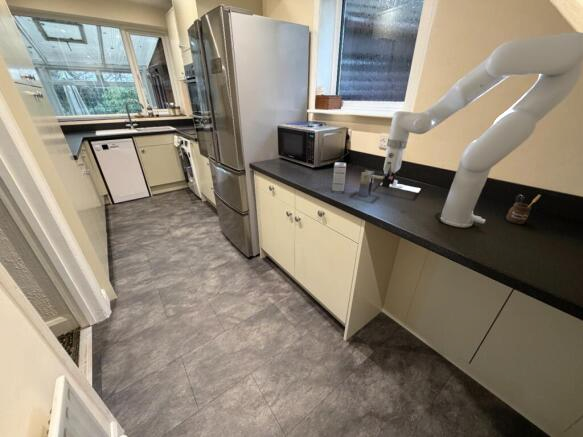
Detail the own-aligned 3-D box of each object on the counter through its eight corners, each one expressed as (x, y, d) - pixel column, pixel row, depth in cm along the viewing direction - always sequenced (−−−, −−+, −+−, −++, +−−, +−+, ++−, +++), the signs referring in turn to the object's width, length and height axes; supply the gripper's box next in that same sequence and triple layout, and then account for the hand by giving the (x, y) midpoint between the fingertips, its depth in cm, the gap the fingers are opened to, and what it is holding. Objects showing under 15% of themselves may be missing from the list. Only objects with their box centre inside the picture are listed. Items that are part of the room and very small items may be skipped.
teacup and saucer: (404, 187, 127) (405, 180, 125) (400, 191, 121) (402, 184, 119) (387, 184, 132) (389, 177, 130) (383, 188, 126) (385, 181, 124)
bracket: (378, 197, 115) (383, 172, 109) (371, 203, 109) (376, 176, 103) (357, 192, 121) (361, 167, 115) (349, 197, 114) (353, 172, 108)
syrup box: (343, 193, 118) (346, 165, 112) (331, 192, 119) (334, 164, 113) (343, 189, 123) (346, 162, 117) (332, 188, 124) (334, 161, 118)
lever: (392, 180, 106) (393, 175, 105) (389, 183, 102) (390, 177, 101) (366, 176, 113) (367, 171, 112) (362, 179, 109) (363, 174, 108)
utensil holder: (503, 216, 98) (516, 189, 92) (522, 219, 96) (537, 192, 90) (507, 222, 93) (521, 194, 88) (527, 225, 91) (543, 197, 85)
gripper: (400, 148, 89) (389, 192, 98) (411, 142, 101) (401, 182, 110) (381, 145, 93) (372, 188, 102) (393, 140, 105) (385, 178, 114)
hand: (387, 184), depth 106 cm, fingers closed on lever, 5 cm apart
